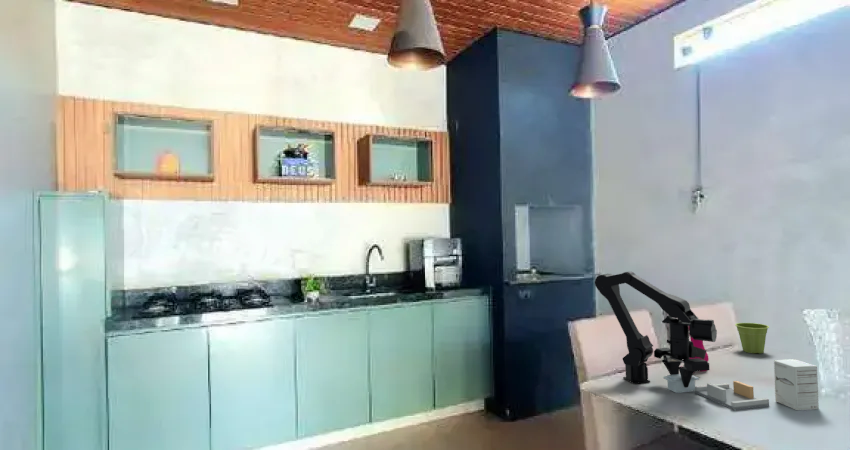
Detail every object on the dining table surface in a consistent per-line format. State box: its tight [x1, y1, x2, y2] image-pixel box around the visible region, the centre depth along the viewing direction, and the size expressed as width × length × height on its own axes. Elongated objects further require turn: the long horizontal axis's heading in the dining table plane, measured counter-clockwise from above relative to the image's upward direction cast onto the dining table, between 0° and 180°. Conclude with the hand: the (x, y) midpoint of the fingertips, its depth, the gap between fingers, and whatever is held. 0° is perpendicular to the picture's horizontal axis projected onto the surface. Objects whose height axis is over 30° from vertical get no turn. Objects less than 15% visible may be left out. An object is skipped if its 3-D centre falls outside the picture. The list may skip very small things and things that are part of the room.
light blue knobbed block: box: [662, 373, 700, 394], centre depth 150 cm, size 10×4×5 cm, turn 100°
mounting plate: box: [694, 380, 770, 411], centre depth 141 cm, size 12×15×4 cm
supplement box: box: [773, 358, 820, 411], centre depth 135 cm, size 7×7×13 cm
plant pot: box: [734, 322, 770, 354], centre depth 194 cm, size 12×12×11 cm
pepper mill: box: [689, 315, 710, 372], centre depth 172 cm, size 7×7×20 cm
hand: (681, 385), depth 150 cm, fingers closed on light blue knobbed block, 4 cm apart
